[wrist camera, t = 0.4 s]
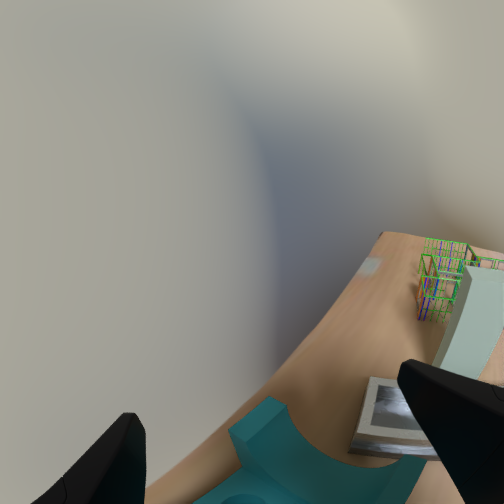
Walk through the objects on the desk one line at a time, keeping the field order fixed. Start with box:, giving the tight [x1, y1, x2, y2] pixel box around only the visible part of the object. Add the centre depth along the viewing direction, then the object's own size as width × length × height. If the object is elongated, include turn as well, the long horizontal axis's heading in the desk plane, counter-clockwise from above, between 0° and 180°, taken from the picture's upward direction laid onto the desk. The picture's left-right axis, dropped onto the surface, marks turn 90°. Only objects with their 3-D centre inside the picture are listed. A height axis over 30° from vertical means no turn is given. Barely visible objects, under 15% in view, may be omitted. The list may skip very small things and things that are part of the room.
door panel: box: [432, 265, 504, 380], centre depth 20 cm, size 6×3×14 cm, turn 63°
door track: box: [348, 376, 504, 461], centre depth 16 cm, size 22×8×3 cm, turn 63°
